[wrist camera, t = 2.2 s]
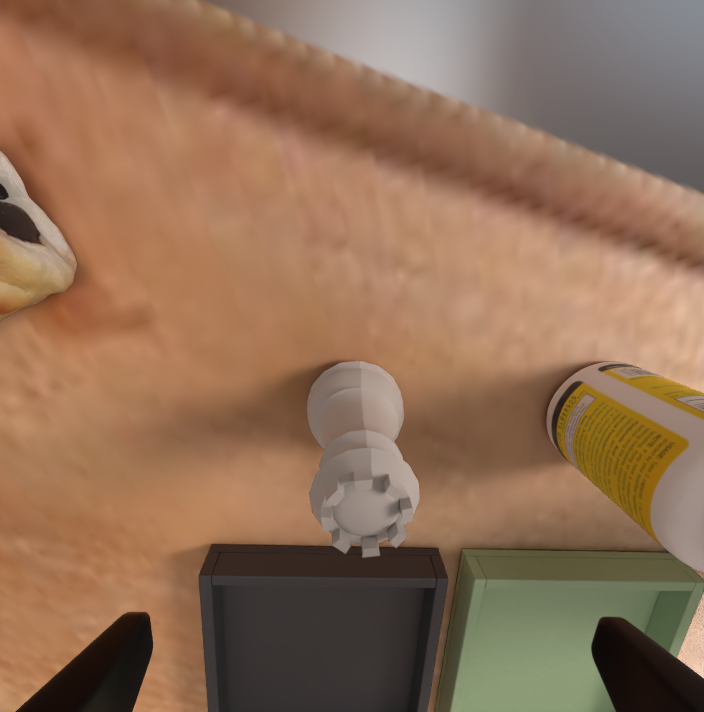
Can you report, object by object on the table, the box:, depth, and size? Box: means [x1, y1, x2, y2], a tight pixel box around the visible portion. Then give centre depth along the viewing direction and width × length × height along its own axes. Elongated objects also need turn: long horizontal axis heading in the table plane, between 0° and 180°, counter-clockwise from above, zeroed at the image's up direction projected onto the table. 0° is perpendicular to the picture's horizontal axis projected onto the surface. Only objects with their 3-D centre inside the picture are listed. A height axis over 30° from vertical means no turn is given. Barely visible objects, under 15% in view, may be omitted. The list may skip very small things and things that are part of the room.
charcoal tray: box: [199, 545, 448, 712], centre depth 21 cm, size 12×13×2 cm
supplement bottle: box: [547, 362, 704, 572], centre depth 14 cm, size 5×5×10 cm
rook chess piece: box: [307, 361, 420, 558], centre depth 14 cm, size 4×4×8 cm
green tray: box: [435, 549, 704, 712], centre depth 22 cm, size 12×13×2 cm
